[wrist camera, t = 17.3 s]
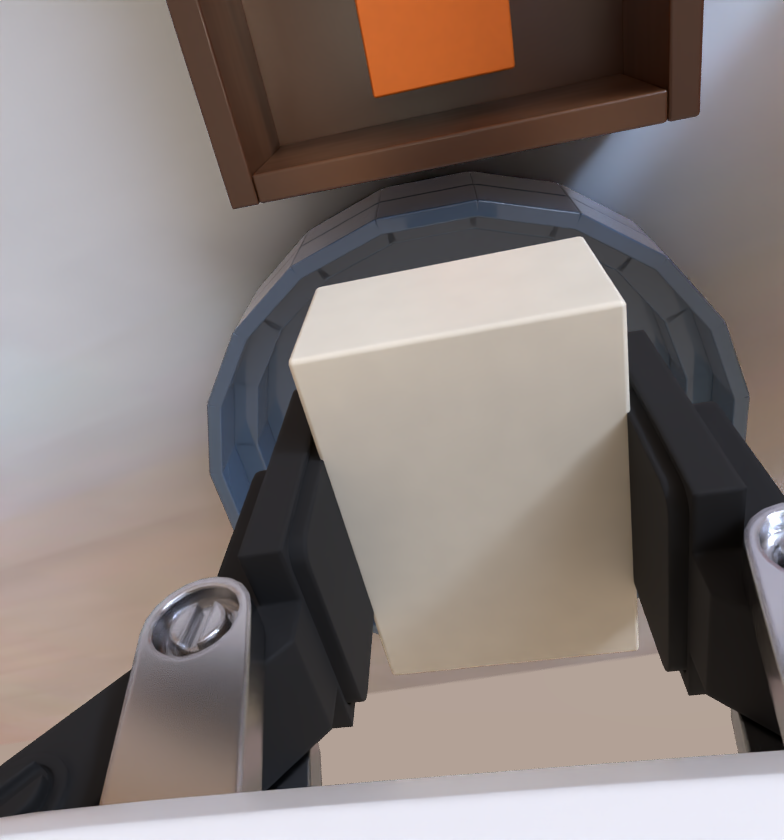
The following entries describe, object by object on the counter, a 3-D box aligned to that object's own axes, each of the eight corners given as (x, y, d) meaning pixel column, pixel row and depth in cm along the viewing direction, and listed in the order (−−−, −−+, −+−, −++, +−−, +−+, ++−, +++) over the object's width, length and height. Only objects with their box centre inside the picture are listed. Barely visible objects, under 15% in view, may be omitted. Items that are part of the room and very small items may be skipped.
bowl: (712, 118, 22) (773, 142, 18) (692, 547, 32) (729, 622, 28) (168, 226, 24) (121, 267, 21) (305, 592, 34) (290, 666, 30)
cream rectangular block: (582, 234, 10) (628, 300, 7) (604, 543, 13) (639, 652, 11) (314, 286, 10) (285, 361, 8) (398, 569, 13) (392, 677, 11)
